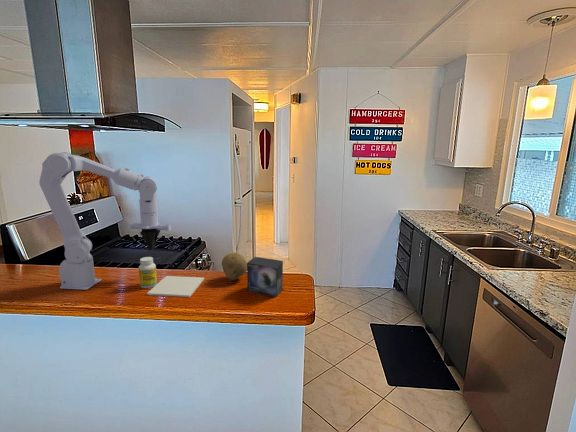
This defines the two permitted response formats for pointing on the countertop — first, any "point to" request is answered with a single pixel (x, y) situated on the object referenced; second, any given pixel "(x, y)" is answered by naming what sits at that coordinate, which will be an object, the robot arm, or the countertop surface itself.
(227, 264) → the natural sponge
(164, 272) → the countertop surface
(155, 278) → the supplement bottle
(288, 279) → the countertop surface
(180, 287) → the mat
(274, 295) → the small box
